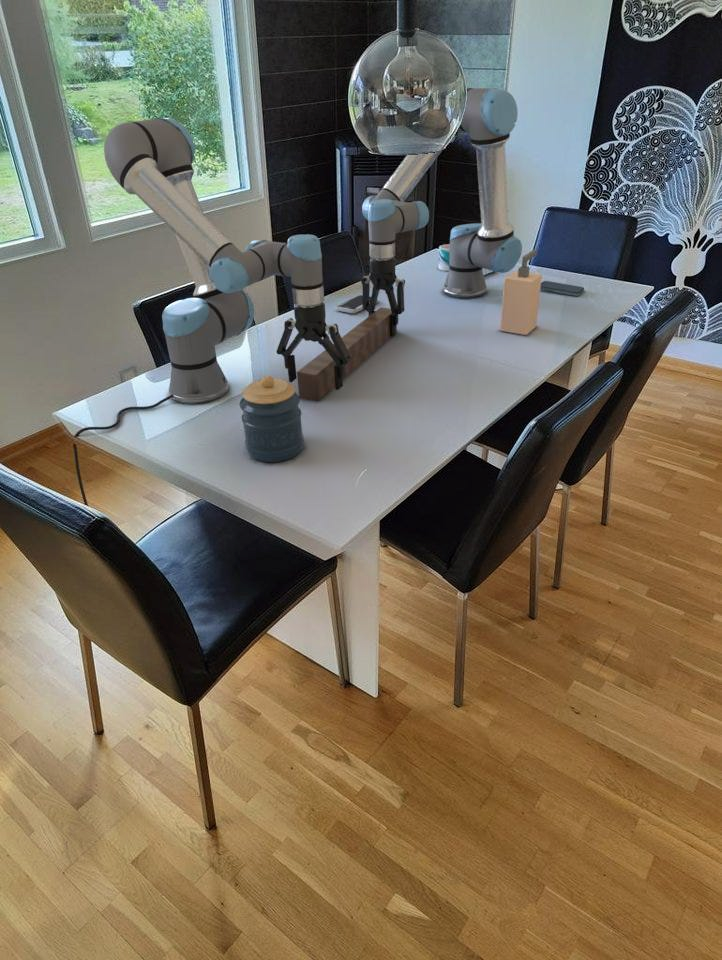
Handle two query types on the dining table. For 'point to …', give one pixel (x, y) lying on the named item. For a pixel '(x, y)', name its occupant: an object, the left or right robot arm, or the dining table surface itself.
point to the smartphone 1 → (352, 305)
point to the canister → (271, 420)
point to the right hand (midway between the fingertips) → (383, 333)
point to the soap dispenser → (521, 299)
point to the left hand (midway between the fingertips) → (315, 384)
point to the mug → (444, 257)
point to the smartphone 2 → (561, 288)
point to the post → (360, 346)
